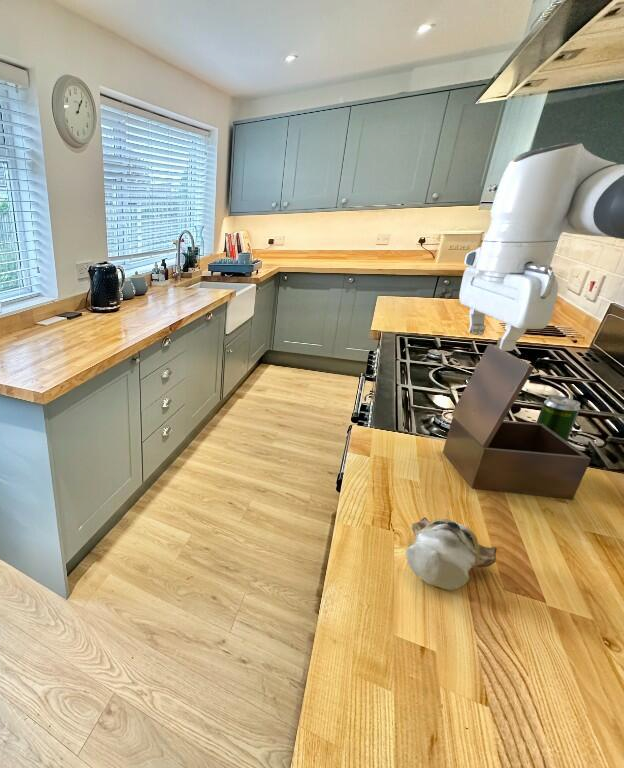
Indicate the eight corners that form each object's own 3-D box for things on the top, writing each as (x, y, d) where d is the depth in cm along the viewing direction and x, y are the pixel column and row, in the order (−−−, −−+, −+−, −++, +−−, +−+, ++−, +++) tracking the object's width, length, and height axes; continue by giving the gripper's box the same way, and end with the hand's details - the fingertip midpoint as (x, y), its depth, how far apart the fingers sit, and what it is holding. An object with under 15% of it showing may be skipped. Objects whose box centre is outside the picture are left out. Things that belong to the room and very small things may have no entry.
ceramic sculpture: (395, 524, 61) (429, 487, 69) (382, 570, 64) (416, 529, 72) (489, 567, 53) (514, 519, 62) (469, 617, 56) (495, 565, 65)
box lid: (493, 344, 82) (488, 343, 83) (535, 367, 70) (529, 366, 71) (455, 415, 89) (451, 414, 90) (487, 447, 77) (482, 446, 78)
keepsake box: (528, 460, 88) (542, 423, 85) (573, 499, 76) (591, 458, 73) (442, 452, 93) (452, 417, 90) (471, 488, 81) (484, 449, 78)
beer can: (566, 458, 88) (588, 407, 84) (533, 454, 90) (552, 404, 86) (554, 446, 93) (573, 397, 88) (522, 442, 95) (540, 394, 90)
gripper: (585, 266, 57) (551, 361, 62) (502, 252, 75) (481, 327, 80) (529, 267, 59) (500, 359, 64) (461, 253, 77) (442, 326, 82)
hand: (489, 341), depth 72 cm, fingers open, 8 cm apart
